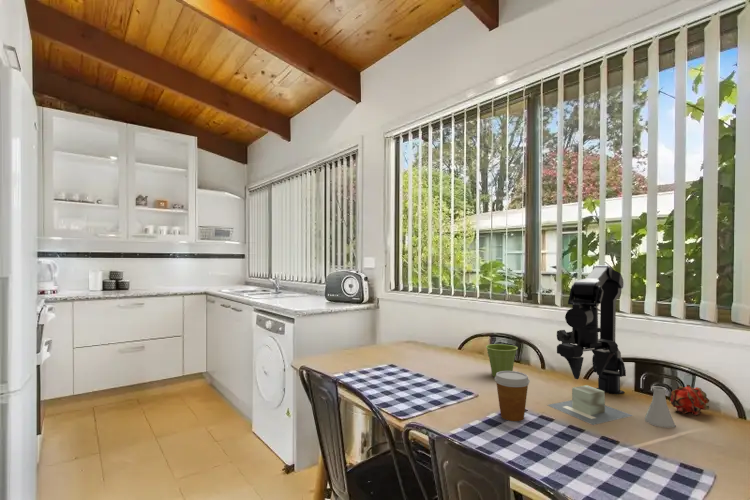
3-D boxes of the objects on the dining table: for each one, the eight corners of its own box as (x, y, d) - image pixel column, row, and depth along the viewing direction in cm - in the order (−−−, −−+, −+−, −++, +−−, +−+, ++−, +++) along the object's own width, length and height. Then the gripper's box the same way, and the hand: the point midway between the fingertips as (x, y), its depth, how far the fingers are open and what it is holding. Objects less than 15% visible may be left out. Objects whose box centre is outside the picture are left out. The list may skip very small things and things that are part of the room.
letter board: (584, 399, 129) (584, 397, 129) (633, 417, 115) (633, 415, 115) (546, 407, 123) (546, 404, 123) (593, 427, 109) (593, 424, 109)
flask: (682, 431, 106) (681, 392, 106) (651, 429, 107) (650, 391, 107) (668, 420, 113) (667, 384, 113) (639, 418, 114) (638, 383, 114)
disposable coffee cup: (490, 411, 120) (489, 370, 120) (521, 410, 121) (520, 369, 121) (502, 424, 111) (502, 380, 111) (536, 423, 111) (535, 379, 112)
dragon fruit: (708, 416, 119) (678, 427, 116) (682, 392, 126) (653, 402, 122) (724, 399, 114) (693, 410, 111) (696, 375, 121) (666, 385, 117)
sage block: (586, 405, 123) (586, 385, 123) (604, 412, 117) (604, 391, 118) (572, 408, 121) (572, 387, 121) (590, 415, 115) (589, 394, 115)
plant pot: (521, 374, 157) (520, 345, 157) (513, 382, 147) (513, 351, 147) (490, 370, 164) (490, 342, 164) (481, 377, 154) (481, 348, 154)
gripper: (586, 318, 131) (587, 366, 130) (542, 322, 123) (542, 373, 123) (618, 323, 120) (619, 375, 120) (572, 328, 113) (573, 384, 113)
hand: (587, 377), depth 119 cm, fingers open, 9 cm apart
